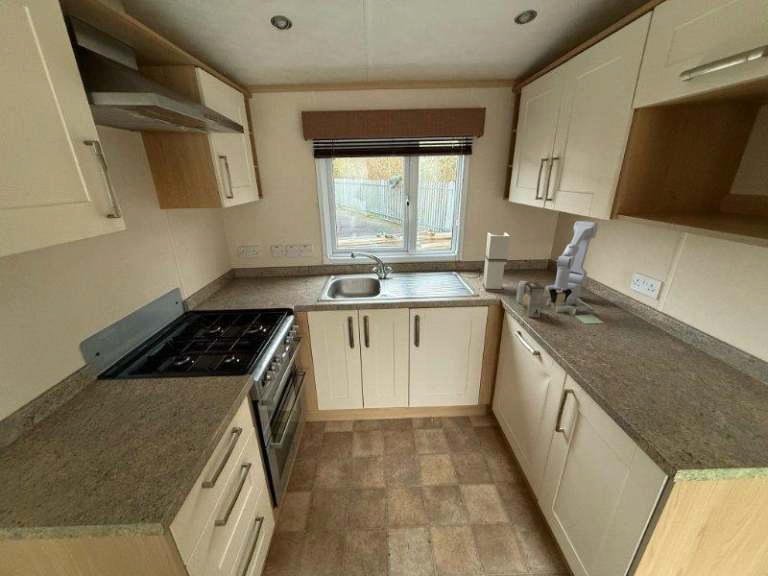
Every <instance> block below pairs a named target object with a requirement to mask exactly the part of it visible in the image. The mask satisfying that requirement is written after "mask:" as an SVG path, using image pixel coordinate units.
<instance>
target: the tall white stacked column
mask: <svg viewBox="0 0 768 576" xmlns="http://www.w3.org/2000/svg"><path fill="white" fill-rule="evenodd" d="M510 238H511V236H510V235H509V234H508V233H507V232H503V235H496V234H492V233H490V232H487V236H486V249H485V259H484V268H483V270H484V271H483V280H482V287H483V290H484V291H485V292H488V293H490V292H491V293H504V288H503V282H504V281H503V279H504V272H505V265H507V262H508V255H509V248H510V247H509V246H510V240H511V239H510Z"/></svg>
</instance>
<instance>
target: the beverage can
mask: <svg viewBox="0 0 768 576" xmlns="http://www.w3.org/2000/svg"><path fill="white" fill-rule="evenodd" d="M525 282H528V281H527V280H521V281H519V283H518V284H517V291H516V299H515V301H516V302H517V303H518V304H522V303H523V296H524V289H525Z"/></svg>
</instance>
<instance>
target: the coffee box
mask: <svg viewBox="0 0 768 576" xmlns="http://www.w3.org/2000/svg"><path fill="white" fill-rule="evenodd" d="M544 293H545V287H544V286H543V285H541V283H539V282H538V281H527V282H525V289H524V296H523V303H522V305H521V311H522V312H523V313H524V315H525V316H526V317H527V318H539V317H540V315H541V309H542V303H543V300H544V299H543V298H544Z"/></svg>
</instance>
